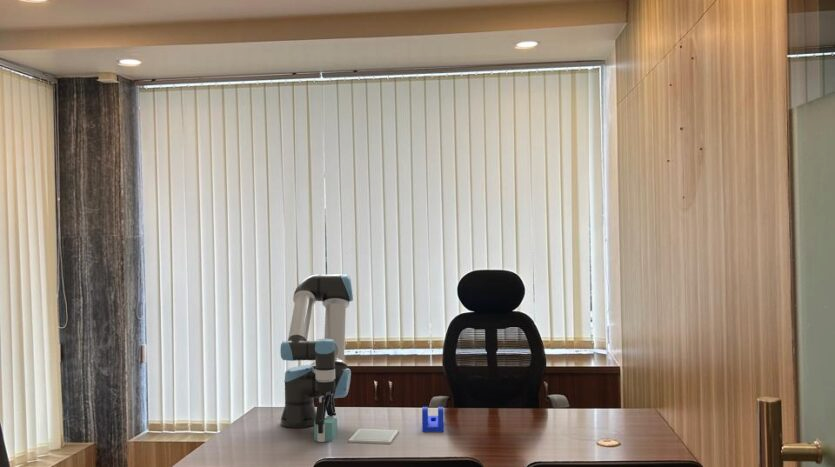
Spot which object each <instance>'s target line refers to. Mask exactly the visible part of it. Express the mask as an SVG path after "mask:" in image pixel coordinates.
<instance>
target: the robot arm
mask: <svg viewBox="0 0 835 467" xmlns="http://www.w3.org/2000/svg"><path fill="white" fill-rule="evenodd" d="M292 300H293V303H294V305H293V309H292V315H291V316H292V317H291V322H290V327H289V332H288V337H287V340H284V341H282V342H281V344H280V358H281V360H283V361H290V362H291V361H292V362H294V361H296V362H297V361H315V367H314V366H313V365H312V364H305V365H304V364H303V365H297V366H294V367H290V368H288V369H286V370H285V373H284V380H283V382H284V407H283V411H282V414H281V417H280V425H281V426H282V427H285V428H292V429H299V428H300V429H301V428H310V427H314V422H315V421H316V422H315V424H317V440H318V441H317V442H319V443H324V442H326V441H325V424H324V420H325V418H335V417H336V416H337V413H336V407H335V405H336V404H335V399H337V398H345V397H346V396H348V393H349V390H350V385H351V376H352V371H351V369H350V368H348V364H347V363H346V362H345V342H346V341H345V339H346V336H345V335H346V313H347V312H346V309H347V308H348V307H349V306H350V302H353V301H354V297H353V286H352V279H351V277H350V275H348V274H340V273H339V274H313V275H310V276H308V277H305V279H303V280H302V281H301V282H300V283H298V286H297V287H296V288H295V290H294V292H293V297H292ZM316 302H321V303H322V304H321V305H322V306H323V307H324V308H325V314H324V315H325V316H324V338H320V339H316V340H308V337H309V330H310V324H311V323H310V322H311V318H312V311H313V307H314V305H315V304H316ZM314 399H316V407H315V404H314V401H315V400H314ZM326 415H327V416H326Z"/></svg>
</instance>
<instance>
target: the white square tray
mask: <svg viewBox="0 0 835 467" xmlns="http://www.w3.org/2000/svg"><path fill="white" fill-rule="evenodd" d="M398 434H399V430H398V429H397V430H396V429H372V428H368V429H367V428H359V429H357V430H356V432H354V434H353V435H352V436H351V437H350V438H349V439H348V443H358V444H359V443H362V444H363V443H364V444H383V445H385V444H387V445H389V444H390V445H391V444H392V443H393V441H394V440H395V439H396V437H397V436H398Z"/></svg>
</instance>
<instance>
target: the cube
mask: <svg viewBox="0 0 835 467" xmlns="http://www.w3.org/2000/svg"><path fill="white" fill-rule="evenodd" d="M315 422H316V421H315ZM315 422H314V425H313V432H314V434H313V436H314V437H313V440H314V442H315V441H317V442H318V440H317V424H315ZM324 424H325V442H333V441H334V440H335V439H336V438H337V437H338V418H335V417H334V418H326V417H325V420H324Z"/></svg>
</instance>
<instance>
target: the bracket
mask: <svg viewBox="0 0 835 467" xmlns="http://www.w3.org/2000/svg"><path fill="white" fill-rule="evenodd" d="M421 409H422V410H421V411H422V412H421V413H422V414H421V420H422V421H421V428H422V429H421V431H422V432H425V433H431V432H432V433H435V432H436V433H444V432H445V430H444V427H445V426H444V424H445V419H444V406H438V407H437V413H438V414H437V415H429V407H428V406H422V408H421Z"/></svg>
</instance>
